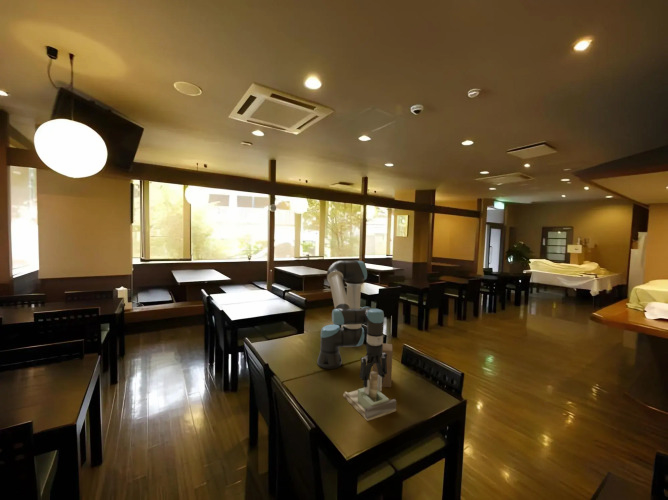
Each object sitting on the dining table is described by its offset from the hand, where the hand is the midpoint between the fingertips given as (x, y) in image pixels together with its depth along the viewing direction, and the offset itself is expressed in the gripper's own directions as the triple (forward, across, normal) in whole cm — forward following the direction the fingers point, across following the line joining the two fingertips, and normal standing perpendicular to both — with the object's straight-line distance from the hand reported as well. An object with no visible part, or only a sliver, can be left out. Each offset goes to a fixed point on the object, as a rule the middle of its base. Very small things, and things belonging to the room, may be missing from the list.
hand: (372, 391), depth 131 cm
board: (+8, 0, +3) cm, 8 cm away
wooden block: (+8, +18, +16) cm, 25 cm away
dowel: (+5, 0, 0) cm, 5 cm away
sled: (+6, 0, 0) cm, 6 cm away
